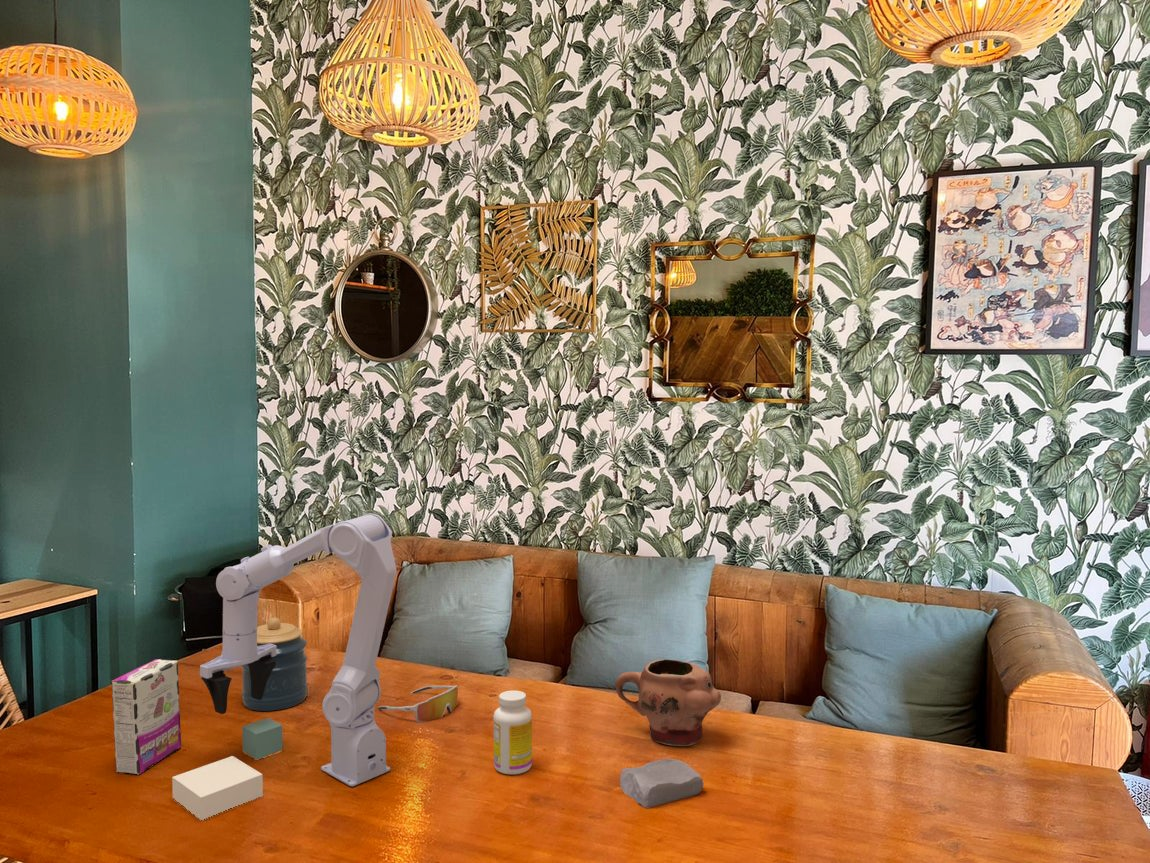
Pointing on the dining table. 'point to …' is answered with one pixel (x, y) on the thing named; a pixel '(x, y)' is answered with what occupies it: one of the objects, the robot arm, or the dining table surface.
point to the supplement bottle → (512, 734)
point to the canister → (279, 668)
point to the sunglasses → (431, 704)
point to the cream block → (217, 787)
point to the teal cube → (262, 738)
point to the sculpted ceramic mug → (672, 699)
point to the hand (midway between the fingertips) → (239, 705)
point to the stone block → (660, 782)
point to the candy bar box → (146, 715)
